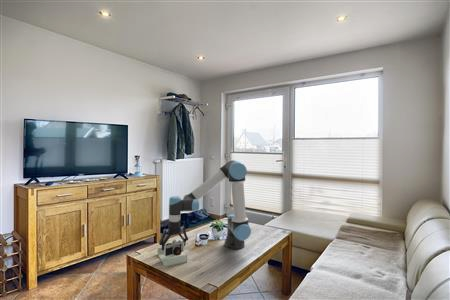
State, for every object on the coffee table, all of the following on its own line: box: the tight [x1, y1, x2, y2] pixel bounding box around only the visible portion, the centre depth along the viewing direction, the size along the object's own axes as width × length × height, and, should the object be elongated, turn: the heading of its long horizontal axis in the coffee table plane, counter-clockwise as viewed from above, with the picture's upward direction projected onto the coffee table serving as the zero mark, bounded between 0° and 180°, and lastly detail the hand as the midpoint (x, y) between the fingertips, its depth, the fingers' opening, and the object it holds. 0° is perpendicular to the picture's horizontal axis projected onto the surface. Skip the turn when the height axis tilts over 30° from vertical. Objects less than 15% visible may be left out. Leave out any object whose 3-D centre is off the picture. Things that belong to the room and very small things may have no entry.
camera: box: [165, 239, 183, 256], centre depth 158 cm, size 13×8×9 cm, turn 139°
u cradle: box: [157, 246, 188, 268], centre depth 157 cm, size 14×18×5 cm
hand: (173, 253), depth 158 cm, fingers closed on camera, 12 cm apart
